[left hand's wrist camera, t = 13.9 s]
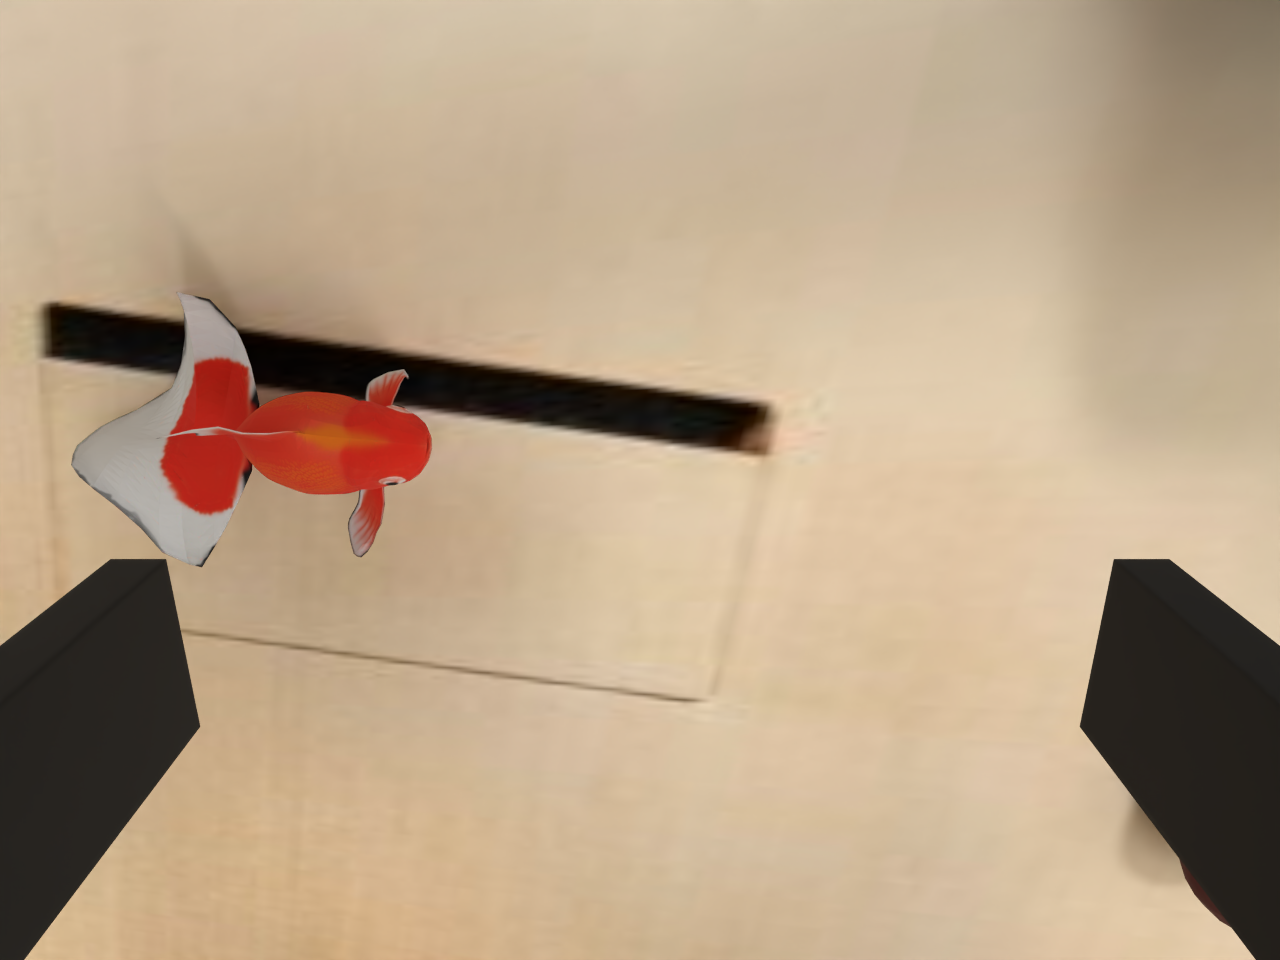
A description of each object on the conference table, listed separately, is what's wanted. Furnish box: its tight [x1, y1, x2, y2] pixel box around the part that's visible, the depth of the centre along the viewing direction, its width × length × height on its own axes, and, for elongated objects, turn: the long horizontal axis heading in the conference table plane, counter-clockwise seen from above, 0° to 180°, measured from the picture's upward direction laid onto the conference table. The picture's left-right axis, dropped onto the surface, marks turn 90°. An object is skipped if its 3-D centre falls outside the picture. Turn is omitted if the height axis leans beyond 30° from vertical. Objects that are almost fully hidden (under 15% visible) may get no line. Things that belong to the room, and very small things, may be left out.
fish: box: [71, 292, 432, 567], centre depth 37 cm, size 11×16×10 cm
